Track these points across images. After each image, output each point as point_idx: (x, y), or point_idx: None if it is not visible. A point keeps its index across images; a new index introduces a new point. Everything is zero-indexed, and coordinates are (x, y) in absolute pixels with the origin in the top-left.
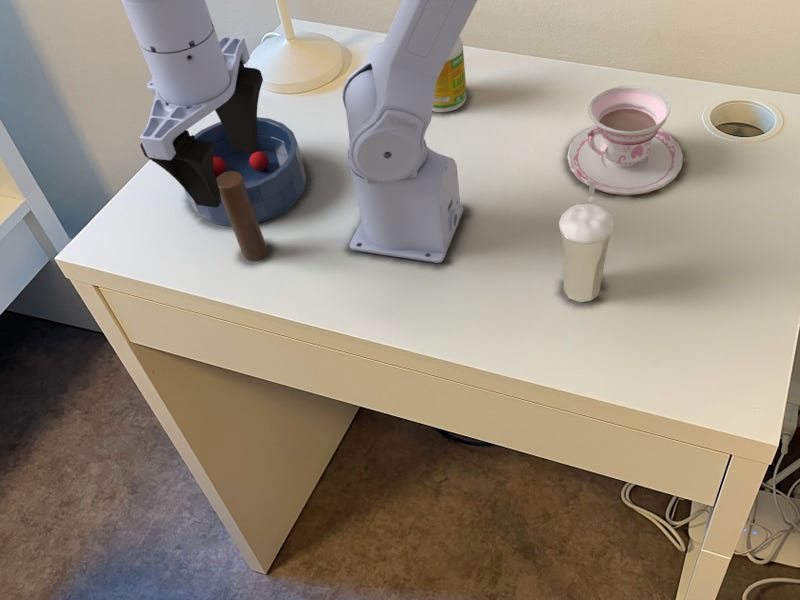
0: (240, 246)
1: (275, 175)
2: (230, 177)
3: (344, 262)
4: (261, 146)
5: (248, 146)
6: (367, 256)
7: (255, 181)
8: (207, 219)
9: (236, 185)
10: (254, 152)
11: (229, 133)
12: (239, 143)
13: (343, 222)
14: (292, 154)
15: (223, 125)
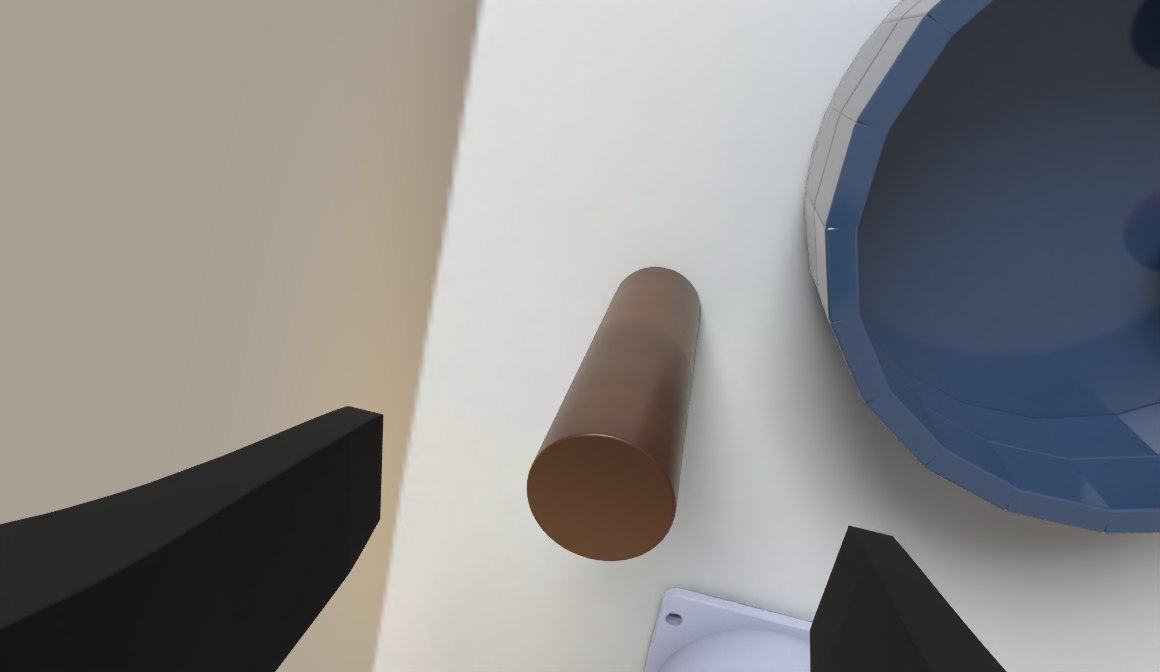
0: (613, 300)
1: (933, 467)
2: (614, 509)
3: (620, 568)
4: None
5: (822, 642)
6: (647, 621)
7: (1096, 234)
8: (852, 65)
9: (558, 540)
10: (810, 631)
11: (881, 619)
12: (842, 609)
13: (803, 558)
14: (1099, 523)
15: (911, 649)
